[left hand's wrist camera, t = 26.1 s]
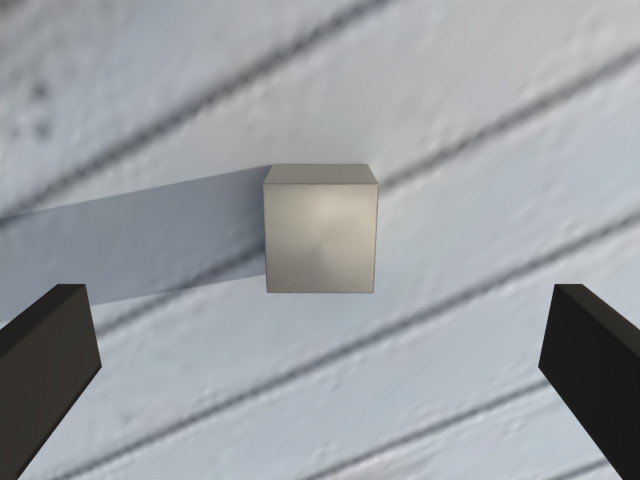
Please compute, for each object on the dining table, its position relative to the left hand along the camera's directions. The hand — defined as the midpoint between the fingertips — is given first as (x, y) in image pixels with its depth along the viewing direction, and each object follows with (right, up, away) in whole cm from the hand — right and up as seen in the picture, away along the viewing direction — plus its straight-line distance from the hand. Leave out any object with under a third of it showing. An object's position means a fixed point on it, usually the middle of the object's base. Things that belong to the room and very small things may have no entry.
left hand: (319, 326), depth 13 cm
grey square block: (0, +4, +11) cm, 11 cm away
